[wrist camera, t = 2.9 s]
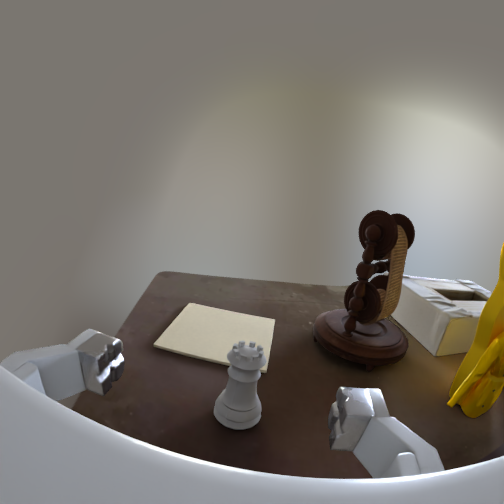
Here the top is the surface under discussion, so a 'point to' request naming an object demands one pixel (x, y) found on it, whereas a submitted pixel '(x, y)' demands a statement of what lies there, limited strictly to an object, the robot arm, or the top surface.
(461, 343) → the box
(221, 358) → the linen mat
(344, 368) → the top surface
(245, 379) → the rook chess piece
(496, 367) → the yellow coat with case
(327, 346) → the scroll
